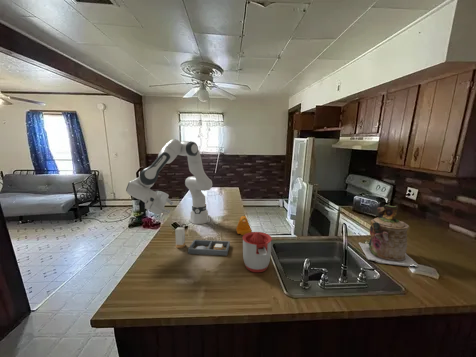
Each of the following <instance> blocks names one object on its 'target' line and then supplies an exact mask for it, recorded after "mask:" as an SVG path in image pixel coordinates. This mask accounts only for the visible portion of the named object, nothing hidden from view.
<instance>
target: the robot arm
mask: <svg viewBox="0 0 476 357" xmlns="http://www.w3.org/2000/svg"><path fill="white" fill-rule="evenodd" d="M178 156H183V157H187V163H188V169H189V170H188V171H189V172H190V173H191V174H192V176H188V177H187V178H185V181H184V184H185V187H186V188H187V189H188V190H189V193H190V195H191V202H192V205H191V211H190V216H189V217H190V218H189V219H188V222H189V223H190V222H191V223H192V224H194V225H202V224H206V223H210V222H211V217H212V216H211V215H209V211H208V209H207V203H206V195H205V194H204V193H203V192H202V191H210V190H211V189H212V187H213V181H212V179H210V178H209V177H208V175H207V174H206V172H205V170H204V166H203V162H202V161H203V160H202V156H201V153H200V150H199V147H198V144H197V143H196V142H194V141H191V140H190V141H188V140H183V141H180V140H178V139H176V138H172V139H171V140H170V139H169V141H168V142H166V143H165V144H164V146H162V148H161V149H160V151H159V153H158V154H157V158H156V159H155V160H154V161H153V162H152V164H151V165H149V166H148V167H146V168H143V170H141V172H140V173H139V176H138V177H137V178H134V179H132V180H129V182H128V184H127V186H126V190H125V192H126V194H128V195H129V196H131V197H133V198H134V199H137V200H139V201H142V202H143V203H144V209H145V210H147V211H150V212H151V213H153V214H155V215H158V216H159V215H161V214H162V213H166V214H170V213H171V209H169V208H168V209H166V208H165V206H166V204H167V203H169V205H171V206H173V204H174V202H173V201H172V200H171V199H170V198H169V197H170V195H169V193H166V192H164V191H161V190H155V191H154V190H153V189H151V188H152V187H153V186H154V184H155V183H156V182H157V180H158V178H159V174H160V172H161V171H162V169H163V168H164V167H165V165H166V164H168V165H169V164H171V163H172V162H173V161H174V160H175V159H176V158H177V157H178Z"/></svg>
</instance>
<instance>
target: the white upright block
mask: <svg viewBox="0 0 476 357" xmlns="http://www.w3.org/2000/svg"><path fill="white" fill-rule="evenodd" d="M185 231H186V230H185V227H181V226H178V227H177V228H175V232H174V233H175V247H176V249H183V248H185V247H186V234H185Z"/></svg>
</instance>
